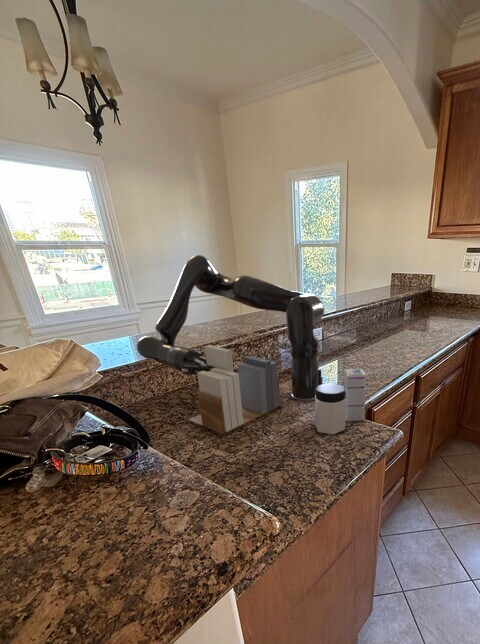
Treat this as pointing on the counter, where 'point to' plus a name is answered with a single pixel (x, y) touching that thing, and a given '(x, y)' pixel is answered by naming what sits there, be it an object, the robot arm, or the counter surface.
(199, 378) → the white books
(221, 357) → the thin white book
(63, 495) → the counter surface
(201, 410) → the book rack
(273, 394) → the grey books
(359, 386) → the syrup box
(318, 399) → the jar
